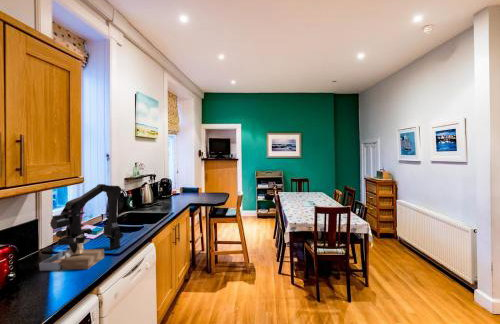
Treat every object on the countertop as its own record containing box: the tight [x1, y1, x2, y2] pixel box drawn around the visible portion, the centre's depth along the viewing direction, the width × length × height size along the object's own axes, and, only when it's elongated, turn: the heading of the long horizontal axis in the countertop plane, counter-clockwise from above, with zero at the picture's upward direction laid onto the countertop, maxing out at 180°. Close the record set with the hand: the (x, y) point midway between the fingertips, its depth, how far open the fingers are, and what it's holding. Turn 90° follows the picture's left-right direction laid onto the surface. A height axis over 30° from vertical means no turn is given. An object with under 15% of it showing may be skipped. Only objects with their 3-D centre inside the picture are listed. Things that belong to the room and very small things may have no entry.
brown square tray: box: [61, 248, 105, 270], centre depth 137 cm, size 14×14×5 cm
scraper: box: [65, 243, 85, 258], centre depth 137 cm, size 12×5×5 cm, turn 178°
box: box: [38, 250, 67, 272], centre depth 138 cm, size 16×10×4 cm, turn 179°
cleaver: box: [65, 238, 91, 251], centre depth 161 cm, size 30×10×2 cm, turn 8°
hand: (76, 251), depth 137 cm, fingers closed on scraper, 3 cm apart
